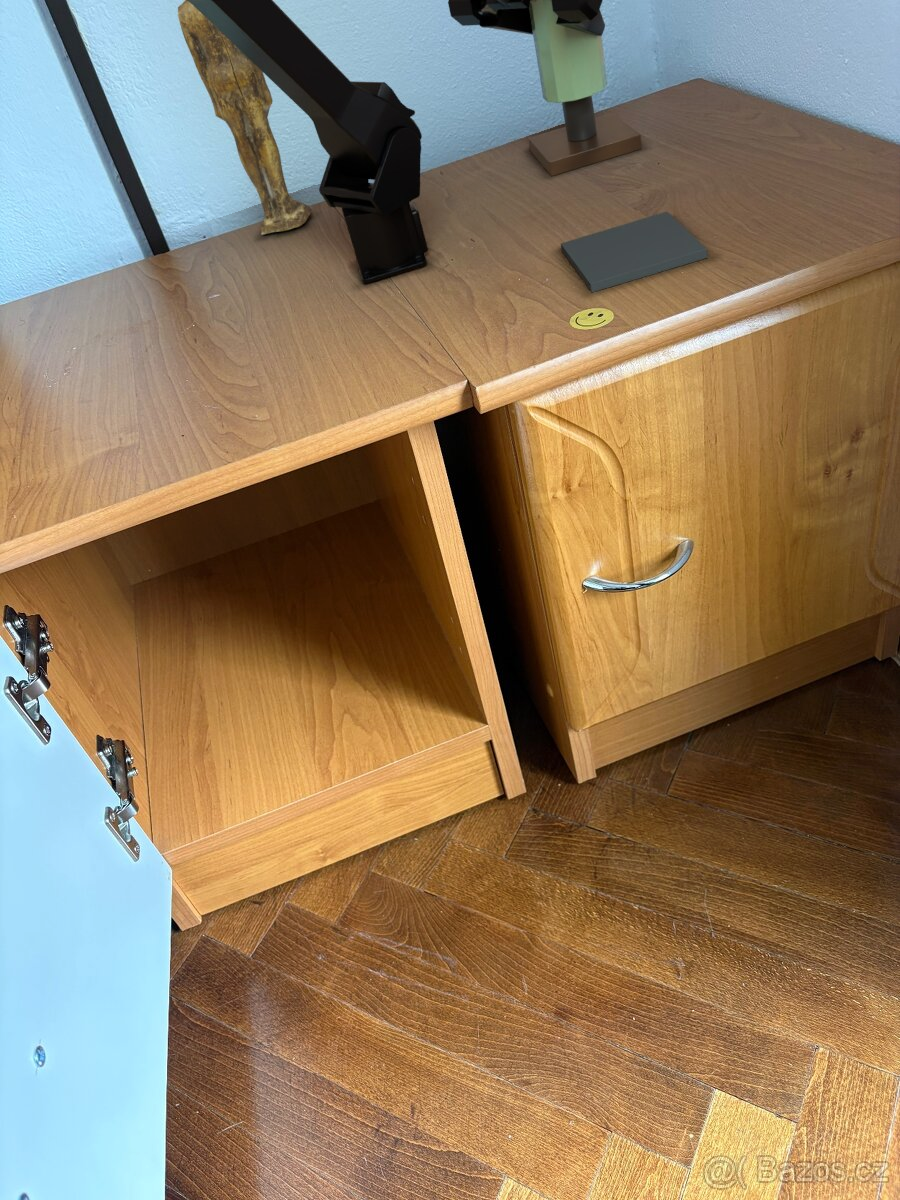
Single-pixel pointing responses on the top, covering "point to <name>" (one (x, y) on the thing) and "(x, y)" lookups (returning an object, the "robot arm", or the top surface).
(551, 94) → the green faceted tube
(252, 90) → the sculpture
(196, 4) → the robot arm
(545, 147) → the stand
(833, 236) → the top surface
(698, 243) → the mat
